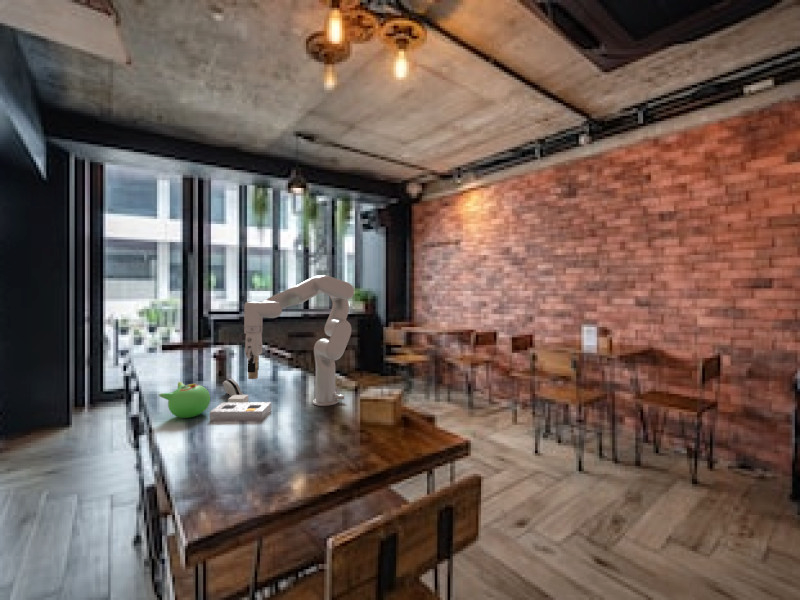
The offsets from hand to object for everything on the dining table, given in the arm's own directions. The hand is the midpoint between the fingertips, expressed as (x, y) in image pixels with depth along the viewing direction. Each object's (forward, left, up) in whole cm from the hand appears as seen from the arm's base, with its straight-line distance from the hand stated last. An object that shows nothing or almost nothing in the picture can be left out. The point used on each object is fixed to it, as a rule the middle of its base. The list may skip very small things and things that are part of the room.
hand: (253, 370), depth 183 cm
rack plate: (+5, 0, -20) cm, 21 cm away
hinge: (+21, -34, -20) cm, 45 cm away
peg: (0, 0, -3) cm, 3 cm away
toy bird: (+28, 0, -20) cm, 35 cm away
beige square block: (+11, -13, -20) cm, 26 cm away
